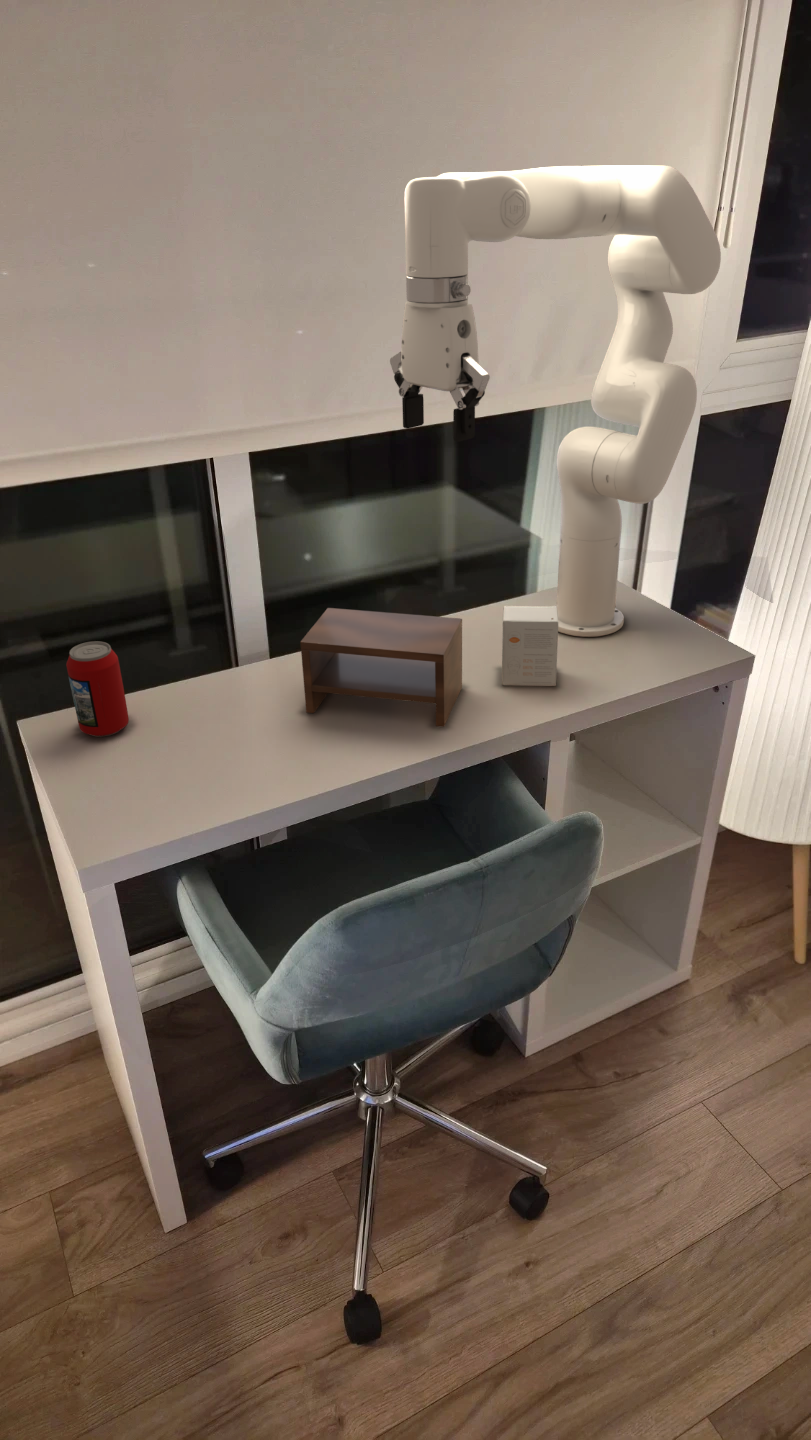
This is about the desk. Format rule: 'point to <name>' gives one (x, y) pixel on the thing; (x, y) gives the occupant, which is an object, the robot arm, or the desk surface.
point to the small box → (529, 645)
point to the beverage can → (97, 689)
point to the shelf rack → (384, 658)
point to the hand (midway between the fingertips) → (438, 432)
